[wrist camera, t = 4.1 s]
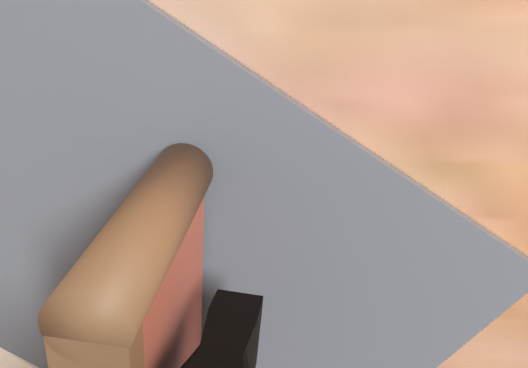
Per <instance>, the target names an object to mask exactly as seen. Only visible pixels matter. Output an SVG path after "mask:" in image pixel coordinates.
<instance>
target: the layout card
mask: <svg viewBox="0 0 528 368" xmlns="http://www.w3.org/2000/svg"><path fill="white" fill-rule="evenodd" d="M177 143H187V144H191V145H194V146H196V147H198V148H199V149H201V150H202V151H203V152H204V153H205V154H206V155H207V156H208V158H209V159H210V161H211V163H212V166H213V178H212V181H211V184H210V186H209V188H208V190H207V192H206V194H205V201H204V243H203V284H202V326H201V337H202V333H203V329H204V325H205V321H206V316H207V312H208V308H209V306H210V304H211V302H212V299H213V297H214V295H215V294H216V292H217V290H218V289H220V290H227V291H234V292H240V293H247V294H254V295H260V296H263V306H262V315H261V325H260V334H259V344H258V353H257V362H256V368H436V367H438V366H439V365H440V364H441V363H443V362H444V361H445V360H446V359H447V358H449V357H450V356H451V355H452V354H454V353H455V352H456V351H457V350H458V349H460V348H461V347H462V346H463V345H464V344H466V343H467V342H468V341H469V340H471V339H472V338H473V337H474V336H475V335H477V334H478V333H479V332H480V331H482V330H483V329H484V328H485V327H486V326H488V325H489V324H490V323H491V322H492V321H494V320H495V319H496V318H497V317H499V316H500V315H501V314H502V313H503V312H505V311H506V310H507V309H508V308H510V307H511V306H512V305H513V304H514V303H516V302H517V301H518V300H519V299H520V298H522V297H523V296H524V295H525V294H527V293H528V257H527V256H526V255H524V254H523V253H521V252H520V251H518V250H517V249H516V248H514V247H513V246H511V245H510V244H508V243H507V242H505V241H504V240H502V239H501V238H499V237H498V236H496V235H495V234H493V233H492V232H490V231H489V230H487V229H486V228H484V227H483V226H481V225H480V224H478V223H477V222H475V221H474V220H473V219H471V218H470V217H468V216H467V215H465V214H464V213H462V212H461V211H459V210H458V209H456V208H455V207H453V206H452V205H450V204H449V203H447V202H446V201H444V200H443V199H441V198H440V197H438V196H437V195H435V194H434V193H432V192H431V191H429V190H428V189H427V188H425V187H424V186H422V185H421V184H419V183H418V182H416V181H415V180H413V179H412V178H410V177H409V176H407V175H406V174H404V173H403V172H401V171H400V170H398V169H397V168H395V167H394V166H392V165H391V164H389V163H388V162H386V161H385V160H384V159H382V158H381V157H379V156H378V155H376V154H375V153H373V152H372V151H370V150H369V149H367V148H366V147H364V146H363V145H361V144H360V143H358V142H357V141H355V140H354V139H352V138H351V137H349V136H348V135H346V134H345V133H343V132H342V131H340V130H339V129H338V128H336V127H335V126H333V125H332V124H330V123H329V122H327V121H326V120H324V119H323V118H321V117H320V116H318V115H317V114H315V113H314V112H312V111H311V110H309V109H308V108H306V107H305V106H303V105H302V104H300V103H299V102H297V101H296V100H295V99H293V98H292V97H290V96H289V95H287V94H286V93H284V92H283V91H281V90H280V89H278V88H277V87H275V86H274V85H272V84H271V83H269V82H268V81H266V80H265V79H263V78H262V77H260V76H259V75H257V74H256V73H254V72H253V71H252V70H250V69H249V68H247V67H246V66H244V65H243V64H241V63H240V62H238V61H237V60H235V59H234V58H232V57H231V56H229V55H228V54H226V53H225V52H223V51H222V50H220V49H219V48H217V47H216V46H214V45H213V44H211V43H210V42H208V41H207V40H206V39H204V38H203V37H201V36H200V35H198V34H197V33H195V32H194V31H192V30H191V29H189V28H188V27H186V26H185V25H183V24H182V23H180V22H179V21H177V20H176V19H174V18H173V17H171V16H170V15H168V14H167V13H165V12H164V11H163V10H161V9H160V8H158V7H157V6H155V5H154V4H152V3H151V2H149V1H148V0H0V368H48V361H47V355H46V349H45V343H44V338H43V336H42V335H41V332H40V330H39V326H38V315H39V311H40V309H41V307H42V306H43V304H44V303H45V302H46V300H47V299H48V298H49V297H50V295H51V294H52V293H53V291H54V290H55V289H56V288H57V286H58V285H59V284H60V282H61V281H62V280H63V279H64V277H65V276H66V275H67V273H68V272H69V271H70V270H71V268H72V267H73V266H74V264H75V263H76V262H77V261H78V259H79V258H80V257H81V255H82V254H83V253H84V252H85V250H86V249H87V248H88V246H89V245H90V244H91V242H92V241H93V240H94V239H95V237H96V236H97V235H98V233H99V232H100V231H101V230H102V228H103V227H104V226H105V224H106V223H107V222H108V221H109V219H110V218H111V217H112V215H113V214H114V213H115V212H116V210H117V209H118V208H119V206H120V205H121V204H122V203H123V201H124V200H125V199H126V197H127V196H128V195H129V194H130V192H131V191H132V190H133V188H134V187H135V186H136V185H137V183H138V182H139V181H140V179H141V178H142V177H143V176H144V174H145V173H146V172H147V170H148V169H149V168H150V167H151V165H152V164H153V163H154V161H155V160H156V159H157V158H158V156H159V155H160V154H161V152H162V151H163V150H164V149H165V148H167V147H168V146H170V145H173V144H177Z"/></svg>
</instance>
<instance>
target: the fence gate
mask: <svg viewBox="0 0 528 368" xmlns="http://www.w3.org/2000/svg"><path fill="white" fill-rule="evenodd" d="M212 178H213V166H212V163H211V161H210V159H209V158H208V156H207V155H206V154H205V153H204V152H203V151H202V150H201V149H199V148H198V147H196V146H194V145H191V144H187V143H177V144H173V145H170V146H168V147H167V148H165V149H164V150H163V151H162V152H161V154H160V155H159V156H158V158H157V159H156V160H155V161H154V163H153V164H152V165H151V167H150V168H149V169H148V170H147V172H146V173H145V174H144V176H143V177H142V178H141V179H140V181H139V182H138V183H137V185H136V186H135V187H134V188H133V190H132V191H131V192H130V194H129V195H128V196H127V197H126V199H125V200H124V201H123V203H122V204H121V205H120V206H119V208H118V209H117V210H116V212H115V213H114V214H113V215H112V217H111V218H110V219H109V221H108V222H107V223H106V224H105V226H104V227H103V228H102V230H101V231H100V232H99V233H98V235H97V236H96V237H95V239H94V240H93V241H92V242H91V244H90V245H89V246H88V248H87V249H86V250H85V252H84V253H83V254H82V255H81V257H80V258H79V259H78V261H77V262H76V263H75V264H74V266H73V267H72V268H71V270H70V271H69V272H68V273H67V275H66V276H65V277H64V279H63V280H62V281H61V282H60V284H59V285H58V286H57V288H56V289H55V290H54V291H53V293H52V294H51V295H50V297H49V298H48V299H47V300H46V302H45V303H44V304H43V306H42V307H41V309H40V311H39V315H38V326H39V330H40V332H41V335H42V336H43V338H44V343H45V349H46V355H47V361H48V368H180V367H181V366H182V365H183V364H184V363H185V362H186V360H187V359H188V358H189V357H190V356H191V355H192V353H193V352H194V351H195V350H196V349H197V347H198V346H199V345H200V342H201V326H202V284H203V243H204V201H205V194H206V192H207V190H208V188H209V186H210V184H211V181H212Z"/></svg>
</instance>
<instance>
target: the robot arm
mask: <svg viewBox="0 0 528 368" xmlns="http://www.w3.org/2000/svg"><path fill="white" fill-rule="evenodd" d="M262 306H263V296H260V295H254V294H247V293H240V292H234V291H227V290H220V289H218V290H217V292H216V294H215V295H214V297H213V299H212V302H211V304H210V306H209V308H208V312H207V316H206V321H205V325H204V329H203V333H202V337H201V342H200V345H199V346H198V347H197V349H196V350H195V351H194V352H193V353H192V355H191V356H190V357H189V358H188V359H187V360H186V362H185V363H184V364H183V365H182V366H181V367H180V368H256V362H257V353H258V344H259V334H260V325H261V315H262Z"/></svg>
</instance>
